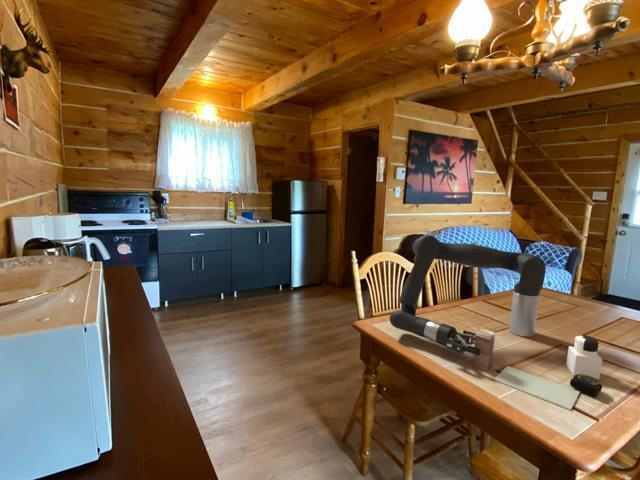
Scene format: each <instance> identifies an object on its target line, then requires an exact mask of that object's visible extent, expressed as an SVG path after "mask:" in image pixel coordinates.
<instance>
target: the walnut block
mask: <svg viewBox="0 0 640 480" xmlns="http://www.w3.org/2000/svg"><path fill="white" fill-rule="evenodd" d="M475 333H476V335H475V344H474V346H473V347H476V348H479V349H480V350H481V352H480V355H479V356H477V355H474V354H473V359H472V367H473V368H474V367H475V368H477V369H480V370H481V371H485V372H487V371H488V370H489V369H490V368H492V365H493V363H492V362H493V356H494V355H493V354H494V348H495V347H494V346H495V336H496V333H495V332H493V331H490V330H487V329H483V328H480V329H479V330H477V331H476V332H475Z"/></svg>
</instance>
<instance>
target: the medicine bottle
mask: <svg viewBox="0 0 640 480" xmlns="http://www.w3.org/2000/svg"><path fill="white" fill-rule="evenodd" d="M598 348H599V341H598V340H597V339H595V338H593V337H591V336H588V335H587V336H586V335H577V336H575V338H574V346H571V345H569V346H568V350H567V357H566V364H565V365H567V366H566V367H567V368H568V370H569V372H572V373H571V374H572V375H573V376H574V375H577V374H584V375H588V376H591V377H593V378H595V379H599V380H600V379H601V371H602V365H603V359H602V357H601V356H600V355H599V354H598V350H599V349H598Z"/></svg>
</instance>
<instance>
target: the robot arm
mask: <svg viewBox="0 0 640 480" xmlns="http://www.w3.org/2000/svg"><path fill="white" fill-rule="evenodd" d="M411 249H412V251H413V253H414V255H415V260H414V262H413V263H414V264H413V266H412V269H411V270H410V273H409V274H408V276H407V278H406V280H405V282H404V284H403V287H402V290H401V293H400V296H399V303H400V304H401V308H400V310H399V309H397V310H393V311H392V312H391V313H390V315H389V322H390V324H391V326H392V327H394V328H395V329H398V330H402V331H405V332H409V333H412V334H414V335H417V336H419V337H421V338H424V339H426V340H428V341H430V342H433V343H435V344H439V345H441V346H444V347H446V348H447V349H449V350H451V351H453V352H456V353H459V354H461V355H462V354H463V355H464V353H465V354H466V353H470V354H472V355H473V356H474V355H477V356H479V355H480V352H481V350H480V349H479V348H476V347H474V346H473V344H474V345H475V335H476V332H472V331H468V330H466V329H465V330H462V331H463V332H458V331H457V329H456V327H455V326H452V325H450V324H446V323H443V322H440V321H437V320H431V319H428V318H425V317H421V316H418V315H417V316H416V314H417V313H416V312H417V304H418V301H419V299H420V295H421V293H422V289H423V286H424V283H425V281H426V277H427V275H428V273H429V270H430V268H431V266H432V264H433V262H434V260H438V261H439V260H440V261H447V262H449V263H450V262H451V263H454V264H458V265H462V266H467V267H472V268H477V269H503V270H507V271H512V272H514V273H517V274H519V275H520V276H519V281H518V283H515V284H514V285H513V292H512V302H511V309H510V311H511V312H510V320H509V332H510V333H512V334H513V335H516V336H520V337H524V338H532V337H534V336H535V333H536V328H537V327H536V325H537V317H538V310H539V304H540V303H539V301H540V294H541V293H540V292H541V290H543V287H544V282H545V278H546V269H547V268H546V263H545V262H546V261H544V259H543V258H541V257H540V256H538V255H534V254H532V253H528V252H515V251H505V250H501V249H497V248H493V247H489V246H485V245H479V244H473V243H460V242H459V243H452V242H451V243H450V242H444V241H443V242H442V241H439V239H438V238H437V237H436V236H434V235H432V234H431V235H430V234H426V235H423V236H420V237H418V238H417V239H416V240H415V241H414V242H413V243H412V248H411Z"/></svg>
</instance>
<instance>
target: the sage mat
mask: <svg viewBox="0 0 640 480" xmlns="http://www.w3.org/2000/svg"><path fill="white" fill-rule="evenodd" d="M493 380H494V381H495V382H497V383H499V384H502V385H505V386H507V387H510V388H513V389H516V390H518V391H521V392H523V393H525V394H528V395H531V396H533V397H536V398H538V399H541V400H543V401H545V402H548V403H549V404H550V403H551V404H553V405H556V406H557V407H561V408H563V409H566V410H568V411H572V409H573V408H574V405H575V403H576V401H577V399H578V398H577V397H579V396H578V395H580V394H579V393H581V391H580V390H577V389H573V388H570V387H568V386H566V385H562V384H559V383H556V382H554V381H551V380H548V379H545V378H542V377H539V376H537V375H534V374H532V373H529V372H526V371H523V370H520V369H517V368H514V367H512V366H509V365H507V366H506V367H505V368H504V369H503V370H501V372H500V373H499V374H497V375H496V376H495V377H494V378H493Z"/></svg>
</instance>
